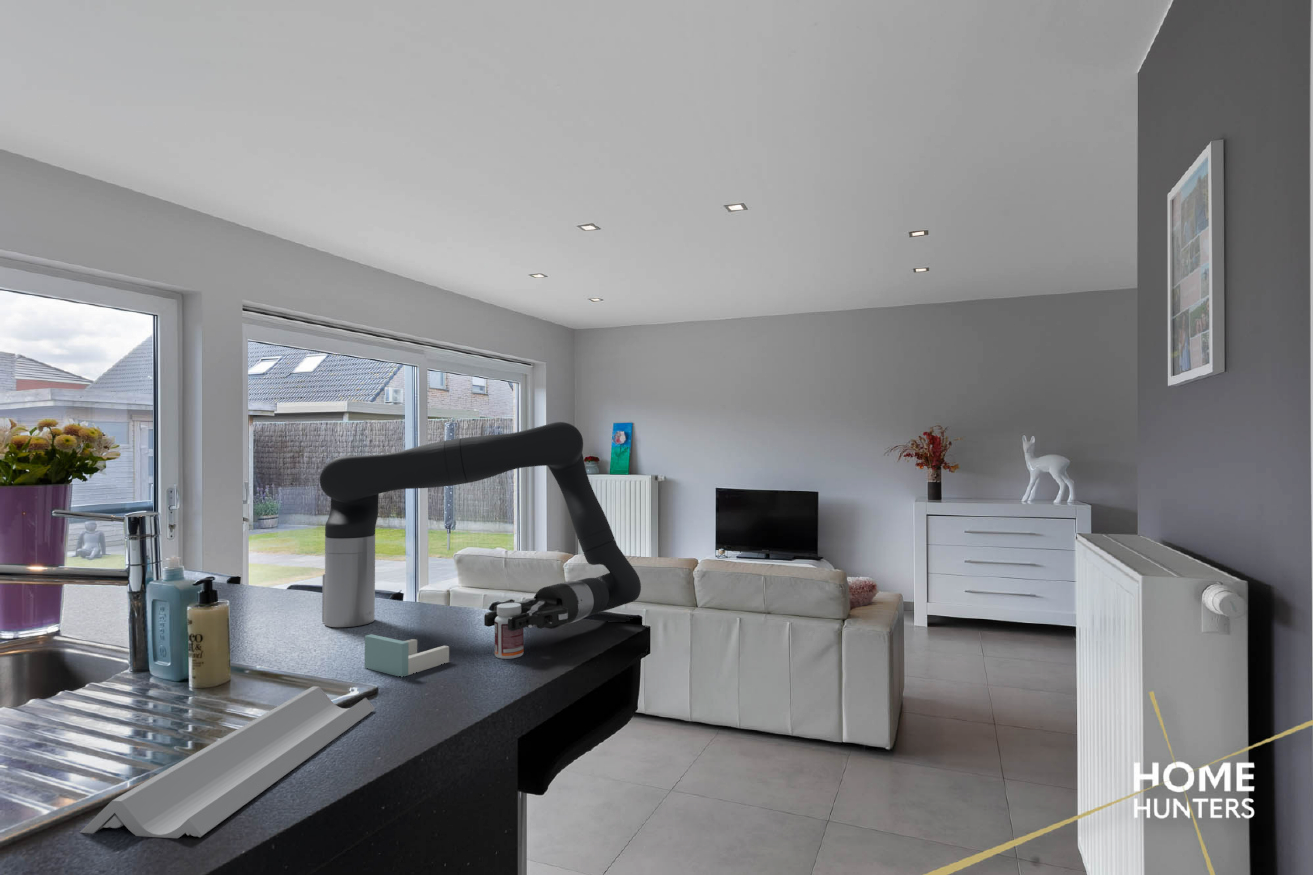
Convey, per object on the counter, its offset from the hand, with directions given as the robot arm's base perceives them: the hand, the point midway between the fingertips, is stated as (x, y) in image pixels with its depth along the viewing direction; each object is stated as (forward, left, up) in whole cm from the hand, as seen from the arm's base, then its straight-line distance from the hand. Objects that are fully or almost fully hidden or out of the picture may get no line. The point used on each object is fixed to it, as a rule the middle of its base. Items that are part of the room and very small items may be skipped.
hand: (497, 622), depth 118 cm
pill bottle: (0, +3, -6) cm, 7 cm away
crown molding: (+5, -42, -7) cm, 43 cm away
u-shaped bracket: (-10, -9, -6) cm, 15 cm away
